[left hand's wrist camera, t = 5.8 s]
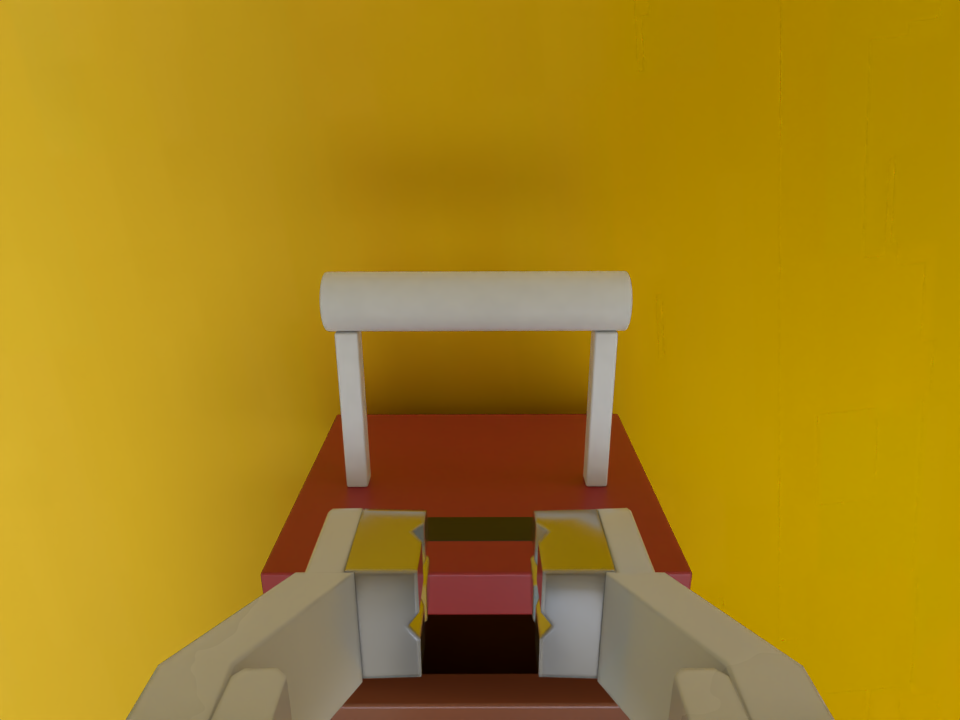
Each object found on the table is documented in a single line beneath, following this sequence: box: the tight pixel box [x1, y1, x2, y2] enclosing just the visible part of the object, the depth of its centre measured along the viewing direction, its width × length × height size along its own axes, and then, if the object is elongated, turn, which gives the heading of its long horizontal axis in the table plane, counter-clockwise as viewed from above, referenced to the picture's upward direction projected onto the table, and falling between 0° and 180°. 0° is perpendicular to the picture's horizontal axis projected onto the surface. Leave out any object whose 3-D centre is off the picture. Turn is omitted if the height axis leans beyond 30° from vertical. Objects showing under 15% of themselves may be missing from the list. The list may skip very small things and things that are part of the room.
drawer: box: [261, 271, 692, 674], centre depth 21 cm, size 25×10×9 cm, turn 0°
